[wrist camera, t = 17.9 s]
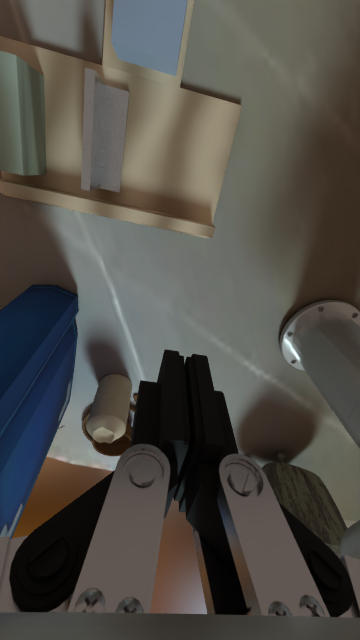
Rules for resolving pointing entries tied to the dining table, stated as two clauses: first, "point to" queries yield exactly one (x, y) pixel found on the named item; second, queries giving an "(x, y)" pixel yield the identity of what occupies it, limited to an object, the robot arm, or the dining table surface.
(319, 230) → the dining table surface
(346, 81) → the dining table surface
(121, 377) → the candle
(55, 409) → the blue volume
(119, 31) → the blue-grey rectangular block
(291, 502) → the tabletop clock
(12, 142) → the wooden platform
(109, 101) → the bookend
